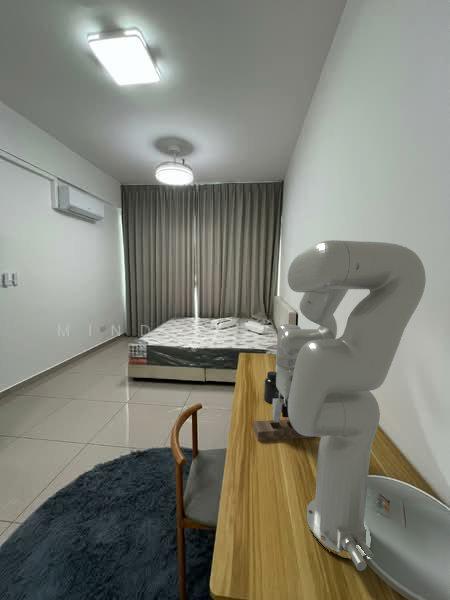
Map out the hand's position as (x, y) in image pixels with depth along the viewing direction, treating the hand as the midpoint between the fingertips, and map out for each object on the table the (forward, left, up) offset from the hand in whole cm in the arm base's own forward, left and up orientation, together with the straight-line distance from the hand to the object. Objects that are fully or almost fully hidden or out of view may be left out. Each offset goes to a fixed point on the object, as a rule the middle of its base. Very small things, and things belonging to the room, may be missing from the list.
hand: (284, 413), depth 84 cm
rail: (0, 0, -7) cm, 7 cm away
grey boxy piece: (0, 0, -2) cm, 2 cm away
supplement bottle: (+23, -3, -8) cm, 24 cm away
